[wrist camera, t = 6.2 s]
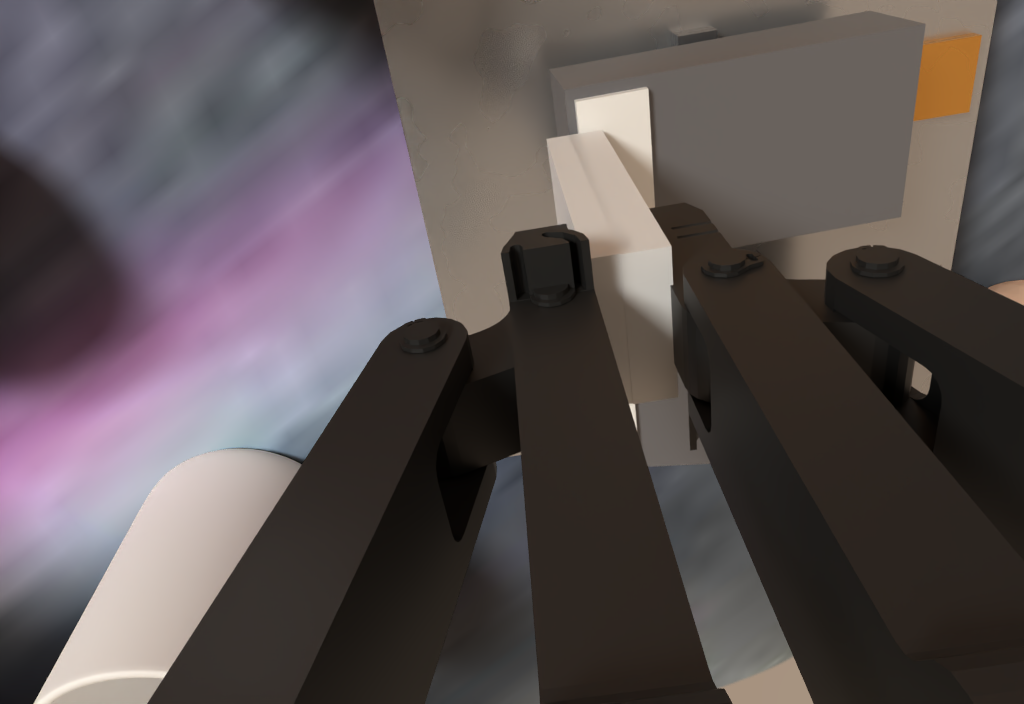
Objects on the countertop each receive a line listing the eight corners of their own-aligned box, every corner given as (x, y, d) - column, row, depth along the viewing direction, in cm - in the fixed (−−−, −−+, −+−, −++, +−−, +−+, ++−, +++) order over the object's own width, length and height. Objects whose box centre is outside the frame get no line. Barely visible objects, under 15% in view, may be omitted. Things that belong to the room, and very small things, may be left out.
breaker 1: (582, 422, 25) (581, 474, 23) (567, 304, 23) (563, 350, 20) (835, 406, 24) (858, 461, 21) (846, 280, 21) (874, 327, 19)
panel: (479, 419, 29) (479, 473, 26) (288, -443, 16) (249, -511, 14) (895, 356, 28) (940, 406, 25) (1026, -596, 16) (1142, -700, 13)
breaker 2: (569, 237, 21) (586, 278, 18) (548, 69, 18) (565, 91, 16) (854, 185, 21) (905, 220, 18) (869, 10, 18) (930, 24, 16)
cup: (390, 546, 32) (359, 783, 24) (171, 636, 35) (70, 881, 26) (274, 410, 28) (186, 636, 20) (36, 523, 31) (-136, 768, 22)
